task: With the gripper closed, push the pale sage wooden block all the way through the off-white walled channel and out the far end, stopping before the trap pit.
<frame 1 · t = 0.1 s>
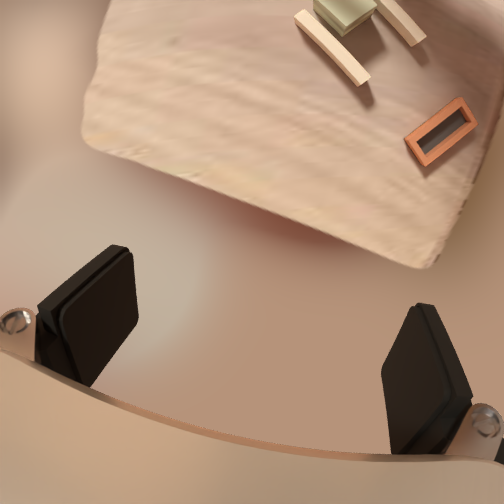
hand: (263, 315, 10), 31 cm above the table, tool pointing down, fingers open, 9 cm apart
trap pit: (439, 130, 32), on the table
walled channel: (359, 29, 29), on the table
sage block: (342, 12, 28), on the table
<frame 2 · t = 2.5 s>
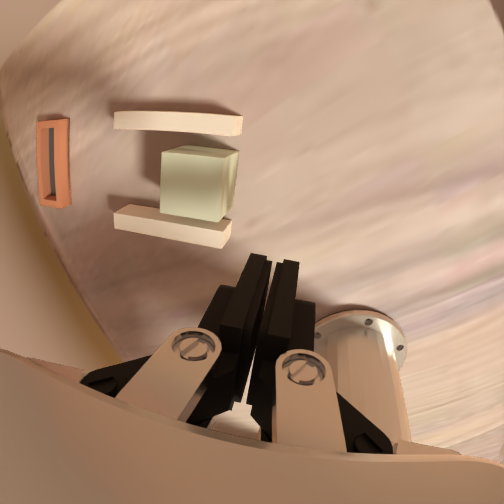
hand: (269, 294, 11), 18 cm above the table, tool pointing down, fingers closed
trap pit: (57, 161, 30), on the table
walled channel: (178, 171, 28), on the table
sage block: (209, 174, 28), on the table
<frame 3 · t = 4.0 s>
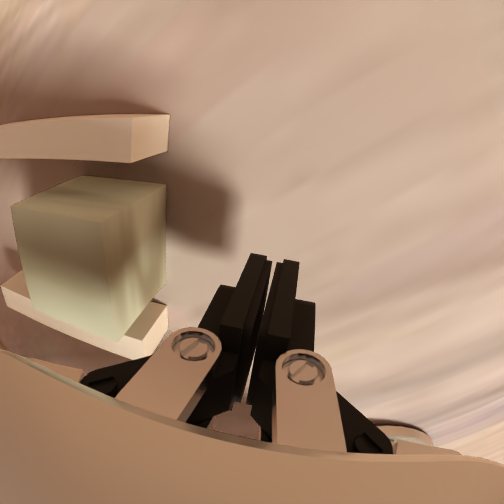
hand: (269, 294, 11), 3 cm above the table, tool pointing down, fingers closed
walled channel: (77, 220, 15), on the table
sage block: (122, 227, 15), on the table
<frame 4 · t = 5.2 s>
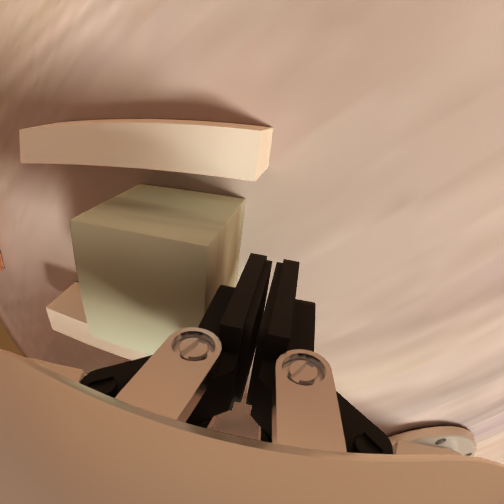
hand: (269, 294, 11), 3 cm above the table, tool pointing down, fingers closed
walled channel: (146, 235, 15), on the table
sage block: (187, 242, 14), on the table, touching gripper
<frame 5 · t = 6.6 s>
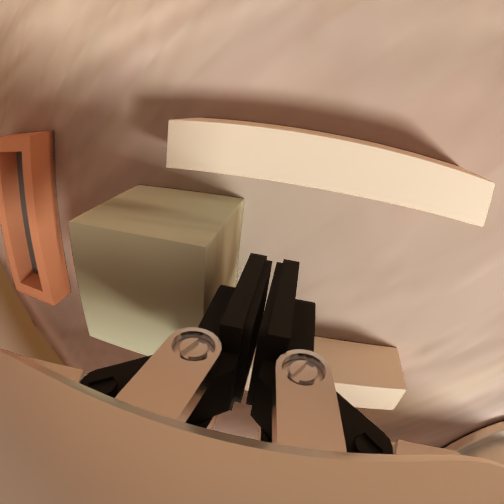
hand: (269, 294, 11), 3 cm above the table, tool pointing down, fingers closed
trap pit: (37, 213, 16), on the table
walled channel: (313, 263, 14), on the table
sage block: (186, 242, 14), on the table, touching gripper
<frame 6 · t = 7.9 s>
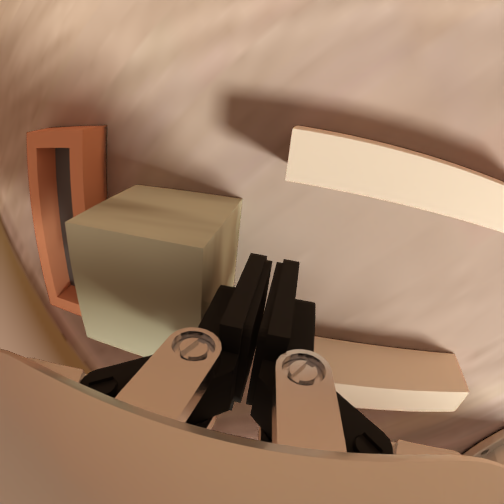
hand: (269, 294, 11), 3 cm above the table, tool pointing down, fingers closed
trap pit: (79, 219, 15), on the table
walled channel: (395, 278, 13), on the table
sage block: (184, 243, 14), on the table, touching gripper
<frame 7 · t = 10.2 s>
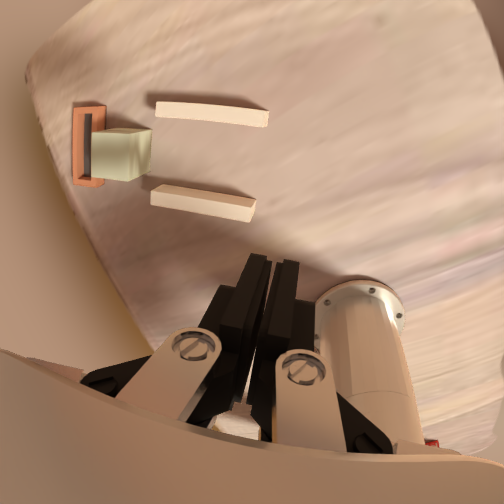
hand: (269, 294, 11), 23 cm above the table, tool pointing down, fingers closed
trap pit: (92, 144, 34), on the table
walled channel: (210, 155, 32), on the table
sage block: (132, 149, 34), on the table
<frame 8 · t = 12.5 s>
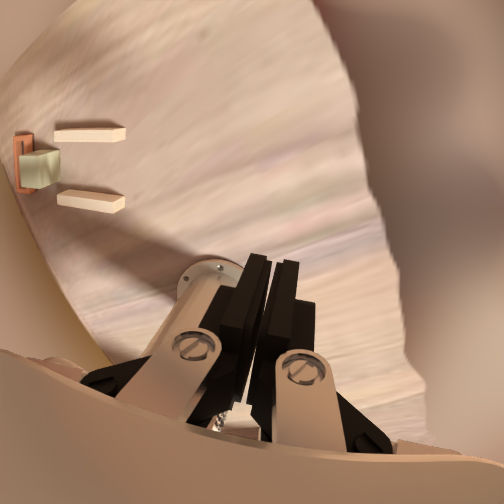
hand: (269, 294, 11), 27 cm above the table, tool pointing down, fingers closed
trap pit: (27, 162, 41), on the table
walled channel: (93, 165, 40), on the table
sage block: (50, 164, 41), on the table
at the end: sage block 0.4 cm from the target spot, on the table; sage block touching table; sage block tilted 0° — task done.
